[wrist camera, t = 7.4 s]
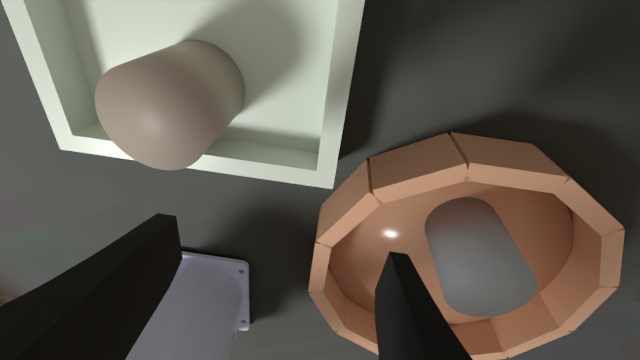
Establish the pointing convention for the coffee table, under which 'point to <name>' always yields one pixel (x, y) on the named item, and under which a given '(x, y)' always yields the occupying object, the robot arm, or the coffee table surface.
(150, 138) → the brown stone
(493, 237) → the slate stone
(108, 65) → the parts tray
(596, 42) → the coffee table surface
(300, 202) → the coffee table surface
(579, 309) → the bowl
